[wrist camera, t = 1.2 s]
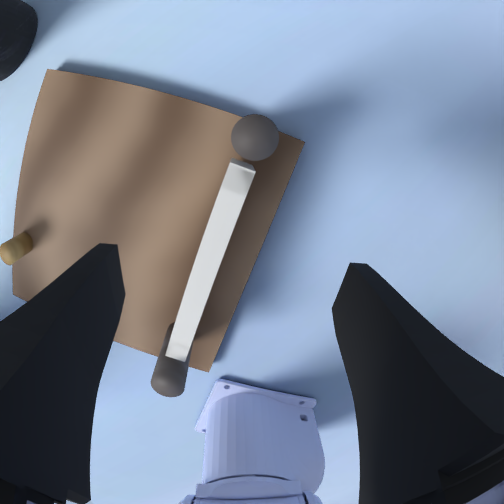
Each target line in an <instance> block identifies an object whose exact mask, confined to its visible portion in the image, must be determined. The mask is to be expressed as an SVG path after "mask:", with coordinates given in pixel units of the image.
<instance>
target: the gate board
mask: <svg viewBox="0 0 504 504" xmlns="http://www.w3.org/2000/svg"><path fill="white" fill-rule="evenodd" d="M304 143H305V142H304V141H301V140H299V139H297V138H294V137H292V136H290V135H287V134H285V133H282V132H280V131H278V129H277V127H276V125H275V124H274V123H273V122H272V121H271V120H270V119H269V118H267V117H265V116H263V115H258V114H252V115H247V116H245V117H240V116H237V115H235V114H232V113H229V112H226V111H223V110H220V109H217V108H214V107H211V106H208V105H205V104H201V103H198V102H195V101H192V100H188V99H185V98H182V97H178V96H175V95H171V94H168V93H164V92H160V91H156V90H153V89H149V88H145V87H141V86H136V85H132V84H128V83H124V82H119V81H114V80H110V79H105V78H100V77H94V76H89V75H83V74H78V73H71V72H65V71H58V70H51V69H47V72H46V74H45V77H44V80H43V83H42V86H41V89H40V92H39V96H38V99H37V102H36V106H35V109H34V113H33V116H32V120H31V124H30V128H29V132H28V136H27V141H26V145H25V150H24V155H23V160H22V166H21V172H20V178H19V185H18V192H17V200H16V209H15V220H14V234H13V238H12V239H10V240H8V241H7V242H5V243H3V244H2V245H1V246H0V256H1V258H2V260H3V261H4V263H6V264H7V265H12V275H13V295H15V296H17V297H19V298H21V299H23V300H25V301H27V302H28V301H29V300H30V299H32V298H33V297H34V296H35V295H37V294H38V293H39V292H40V291H41V290H43V289H44V288H45V287H46V286H48V285H49V284H50V283H51V282H53V281H54V280H55V279H56V278H57V277H59V276H60V275H61V274H62V273H63V272H64V271H66V270H67V269H68V268H69V267H70V266H72V265H73V264H74V263H75V262H76V261H78V260H79V259H80V258H81V257H82V256H84V255H85V254H86V253H87V252H88V251H90V250H91V249H92V248H93V247H95V246H96V245H98V244H99V243H107V244H118V251H119V258H120V264H121V270H122V276H123V282H124V288H125V293H126V295H125V300H124V304H123V309H122V313H121V317H120V322H119V325H118V328H117V331H116V334H115V336H114V339H113V341H116V342H118V343H121V344H124V345H126V346H129V347H132V348H134V349H137V350H140V351H143V352H146V353H148V354H151V355H154V356H157V357H158V360H157V363H156V366H155V369H154V372H153V376H152V379H151V386H152V388H153V389H154V390H155V391H156V392H157V393H159V394H161V395H163V396H166V397H177V396H179V395H181V394H182V393H183V392H184V388H185V382H186V377H187V372H188V366H189V367H192V368H195V369H199V370H202V371H206V372H209V370H210V368H211V366H212V363H213V361H214V359H215V356H216V354H217V352H218V349H219V347H220V345H221V342H222V340H223V338H224V335H225V333H226V330H227V328H228V326H229V323H230V321H231V319H232V316H233V314H234V312H235V309H236V307H237V304H238V302H239V300H240V297H241V295H242V293H243V290H244V288H245V285H246V283H247V281H248V278H249V276H250V273H251V271H252V269H253V266H254V264H255V261H256V259H257V257H258V254H259V252H260V250H261V247H262V245H263V242H264V240H265V238H266V235H267V233H268V230H269V228H270V226H271V223H272V221H273V218H274V216H275V213H276V211H277V209H278V206H279V204H280V201H281V199H282V197H283V194H284V192H285V189H286V187H287V185H288V182H289V180H290V177H291V175H292V172H293V170H294V168H295V165H296V163H297V160H298V158H299V155H300V153H301V151H302V148H303V146H304ZM232 158H235V159H237V160H240V161H243V162H245V163H248V164H251V165H253V167H254V169H255V171H256V173H255V175H254V178H253V180H252V183H251V185H250V188H249V190H248V193H247V195H246V198H245V201H244V203H243V206H242V208H241V211H240V214H239V216H238V219H237V221H236V224H235V227H234V229H233V232H232V234H231V237H230V240H229V242H228V245H227V248H226V250H225V253H224V256H223V258H222V261H221V264H220V266H219V269H218V272H217V274H216V277H215V280H214V283H213V285H212V288H211V291H210V293H209V296H208V299H207V302H206V304H205V307H204V310H203V313H202V316H201V318H200V321H199V324H198V327H197V329H196V332H195V335H194V338H193V341H192V344H191V346H190V349H189V352H188V355H187V358H186V361H185V362H183V361H180V360H177V359H174V358H171V357H168V356H165V355H166V351H167V348H168V344H169V341H170V338H171V334H172V331H173V328H174V324H175V321H176V318H177V315H178V311H179V308H180V305H181V302H182V299H183V296H184V292H185V289H186V286H187V283H188V280H189V277H190V274H191V271H192V268H193V265H194V262H195V259H196V256H197V253H198V250H199V247H200V244H201V241H202V238H203V235H204V232H205V230H206V227H207V224H208V221H209V218H210V215H211V213H212V210H213V207H214V204H215V201H216V199H217V196H218V193H219V190H220V188H221V185H222V182H223V180H224V177H225V174H226V172H227V169H228V166H229V164H230V161H231V159H232Z"/></svg>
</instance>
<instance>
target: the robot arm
mask: <svg viewBox="0 0 504 504" xmlns="http://www.w3.org/2000/svg"><path fill="white" fill-rule="evenodd" d="M125 295H126V293H125V288H124V282H123V276H122V270H121V264H120V258H119V251H118V244H107V243H99V244H98V245H96V246H95V247H93V248H92V249H91V250H90V251H88V252H87V253H86V254H85V255H84V256H82V257H81V258H80V259H79V260H78V261H76V262H75V263H74V264H73V265H72V266H70V267H69V268H68V269H67V270H66V271H64V272H63V273H62V274H61V275H60V276H59V277H57V278H56V279H55V280H54V281H53V282H51V283H50V284H49V285H48V286H46V287H45V288H44V289H43V290H41V291H40V292H39V293H38V294H37V295H35V296H34V297H33V298H32V299H30V300H29V301H28V302H27V303H25V304H24V305H23V306H21V307H20V308H19V309H17V310H16V311H15V312H13V313H12V314H10V315H9V316H8V317H6V318H5V319H3V320H2V321H0V504H54V503H57V504H66V500H68V501H71V502H75V503H77V504H85V503H87V502H89V501H90V500H91V495H90V448H91V435H92V425H93V416H94V410H95V403H96V397H97V391H98V387H99V383H100V379H101V376H102V373H103V370H104V367H105V363H106V360H107V357H108V354H109V351H110V348H111V345H112V342H113V339H114V336H115V334H116V331H117V328H118V325H119V322H120V317H121V313H122V309H123V304H124V300H125ZM332 313H333V320H334V327H335V333H336V337H337V341H338V345H339V348H340V352H341V355H342V359H343V362H344V366H345V369H346V373H347V376H348V380H349V383H350V387H351V391H352V395H353V400H354V405H355V412H356V419H357V427H358V439H359V452H360V490H359V504H504V377H503V376H501V375H499V374H498V373H496V372H494V371H493V370H491V369H489V368H488V367H486V366H485V365H483V364H482V363H480V362H479V361H477V360H476V359H475V358H473V357H472V356H470V355H469V354H467V353H466V352H465V351H463V350H462V349H461V348H459V347H458V346H457V345H456V344H454V343H453V342H452V341H451V340H449V339H448V338H447V337H446V336H444V335H443V334H442V333H441V332H440V331H439V330H437V329H436V328H435V327H434V326H433V325H432V324H431V323H430V322H429V321H428V320H426V319H425V318H424V317H423V316H422V315H421V314H420V313H419V312H418V311H417V310H416V309H415V308H414V307H412V306H411V305H410V304H409V303H408V302H407V301H406V300H405V299H404V298H403V297H402V296H401V295H400V294H399V293H398V292H397V291H396V290H395V289H394V288H393V287H392V286H391V285H390V284H389V283H388V282H387V281H386V280H385V279H384V278H382V277H381V276H380V275H379V274H378V273H377V272H376V271H375V270H374V269H372V268H371V267H370V266H369V265H367V264H362V263H350V264H349V266H348V269H347V272H346V274H345V277H344V279H343V282H342V284H341V287H340V290H339V292H338V294H337V297H336V299H335V302H334V304H333V307H332ZM225 385H229V386H225ZM300 401H302V402H300ZM316 404H317V402H316V400H315V399H314V398H308V397H302V396H297V395H292V394H286V393H281V392H276V391H272V390H267V389H262V388H258V387H253V386H249V385H245V384H241V383H237V382H233V381H229V380H225V379H218V380H217V381H216V382H215V384H214V386H213V389H212V391H211V393H210V395H209V397H208V399H207V402H206V404H205V406H204V408H203V410H202V412H201V414H200V417H199V419H198V421H197V423H196V425H195V430H196V431H198V432H202V433H206V434H205V447H204V460H203V474H202V484H197V485H196V495H187V496H186V497H185V498H184V499H183V500H182V501H181V502H180V503H179V504H322V502H321V500H320V498H319V497H318V496H316V495H315V494H314V493H315V492H316V491H317V489H318V488H319V486H320V484H321V482H322V479H323V475H324V469H325V457H324V452H323V448H322V444H321V440H320V436H319V432H318V428H317V423H316V419H315V415H314V411H313V408H314V407H315V406H316Z"/></svg>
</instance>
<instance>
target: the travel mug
mask: <svg viewBox="0 0 504 504" xmlns="http://www.w3.org/2000/svg"><path fill="white" fill-rule="evenodd" d="M36 30H37V15H36V12H35V10H34V9H33V8H32V7H31V6H29V5H28V4H26V3H25V2H23V1H21V0H0V81H2V80H4V79H5V78H7V77H8V76H10V75H11V74H12V73H13V72H14V71H15V70H16V69H17V68H18V67H19V65H20V64H21V63H22V61H23V60H24V58H25V57H26V55H27V53H28V52H29V50H30V48H31V46H32V43H33V41H34V38H35V34H36Z"/></svg>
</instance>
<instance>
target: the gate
mask: <svg viewBox="0 0 504 504" xmlns="http://www.w3.org/2000/svg"><path fill="white" fill-rule="evenodd" d="M255 173H256V171H255V169H254V167H253V165H251V164H248V163H245V162H243V161H240V160H237V159H235V158H232V159H231V161H230V164H229V166H228V169H227V172H226V174H225V177H224V180H223V182H222V185H221V188H220V190H219V193H218V196H217V199H216V201H215V204H214V207H213V210H212V213H211V215H210V218H209V221H208V224H207V227H206V230H205V232H204V235H203V238H202V241H201V244H200V247H199V250H198V253H197V256H196V259H195V262H194V265H193V268H192V271H191V274H190V277H189V280H188V283H187V286H186V289H185V292H184V296H183V299H182V302H181V305H180V308H179V311H178V315H177V318H176V321H175V324H174V328H173V331H172V334H171V338H170V341H169V344H168V348H167V351H166V355H165V356H168V357H171V358H174V359H177V360H180V361H183V362H185V361H186V358H187V355H188V352H189V349H190V346H191V344H192V341H193V338H194V335H195V332H196V329H197V327H198V324H199V321H200V318H201V316H202V313H203V310H204V307H205V304H206V302H207V299H208V296H209V293H210V291H211V288H212V285H213V283H214V280H215V277H216V274H217V272H218V269H219V266H220V264H221V261H222V258H223V256H224V253H225V250H226V248H227V245H228V242H229V240H230V237H231V234H232V232H233V229H234V227H235V224H236V221H237V219H238V216H239V214H240V211H241V208H242V206H243V203H244V201H245V198H246V195H247V193H248V190H249V188H250V185H251V183H252V180H253V178H254V175H255Z"/></svg>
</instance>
